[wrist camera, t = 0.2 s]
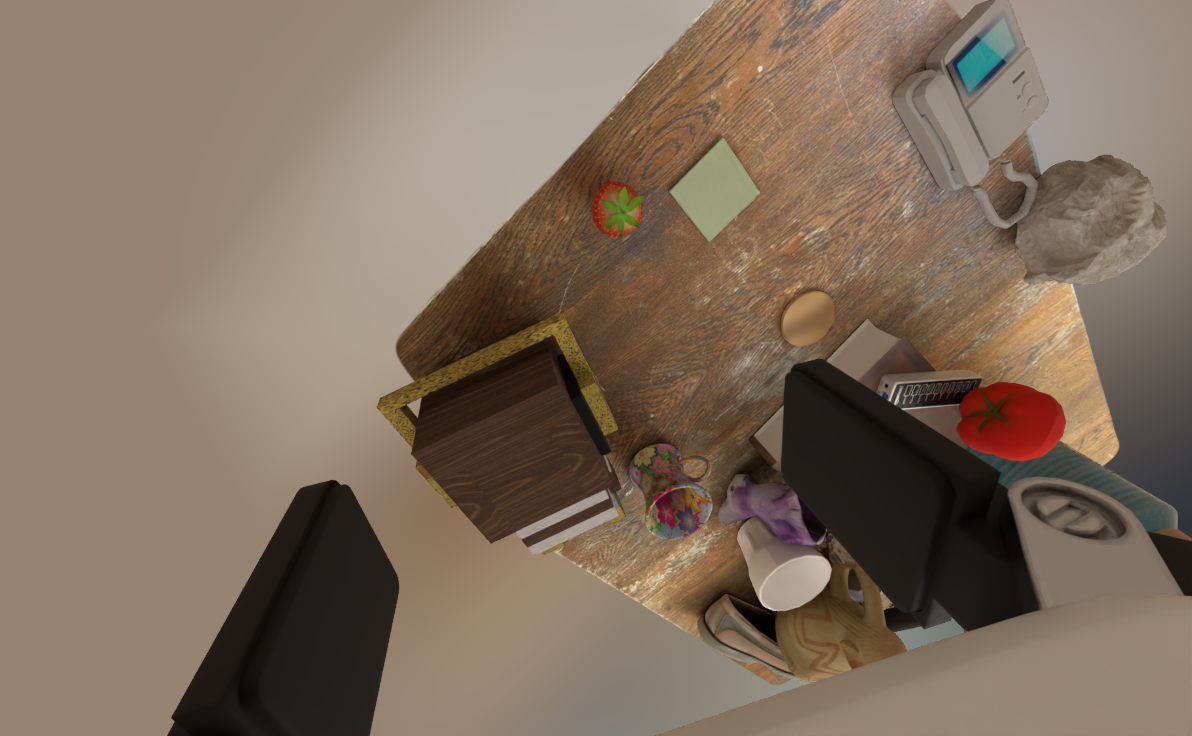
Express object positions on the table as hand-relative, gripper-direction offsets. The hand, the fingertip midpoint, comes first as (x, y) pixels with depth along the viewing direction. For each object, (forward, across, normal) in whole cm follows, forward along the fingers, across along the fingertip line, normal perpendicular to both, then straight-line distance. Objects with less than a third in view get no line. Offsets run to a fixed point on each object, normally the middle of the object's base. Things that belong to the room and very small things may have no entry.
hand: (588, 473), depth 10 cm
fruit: (+45, -11, +1) cm, 46 cm away
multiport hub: (+38, -50, +32) cm, 71 cm away
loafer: (+40, -28, +88) cm, 100 cm away
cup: (+45, -30, +60) cm, 81 cm away
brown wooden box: (+38, 0, +42) cm, 56 cm away
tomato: (+29, -59, +36) cm, 75 cm away
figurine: (+34, -33, +46) cm, 66 cm away
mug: (+45, -14, +38) cm, 61 cm away
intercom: (+42, -66, +11) cm, 79 cm away
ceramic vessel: (+37, -36, +83) cm, 98 cm away
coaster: (+45, -37, +21) cm, 61 cm away
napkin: (+45, -24, +2) cm, 50 cm away
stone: (+33, -70, +19) cm, 80 cm away
